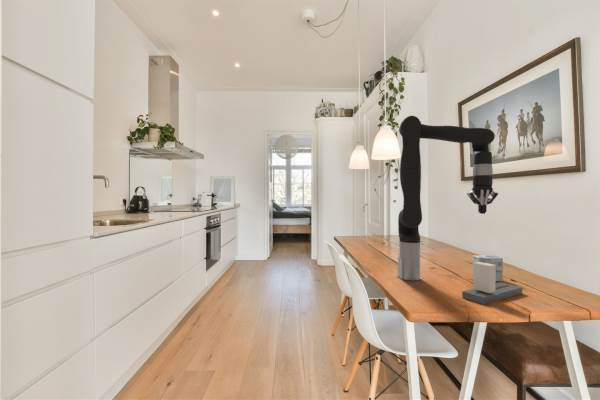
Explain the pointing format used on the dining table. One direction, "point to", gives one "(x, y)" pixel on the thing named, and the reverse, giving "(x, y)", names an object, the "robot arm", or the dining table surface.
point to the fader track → (499, 294)
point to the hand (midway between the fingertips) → (482, 213)
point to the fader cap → (484, 277)
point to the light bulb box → (492, 260)
